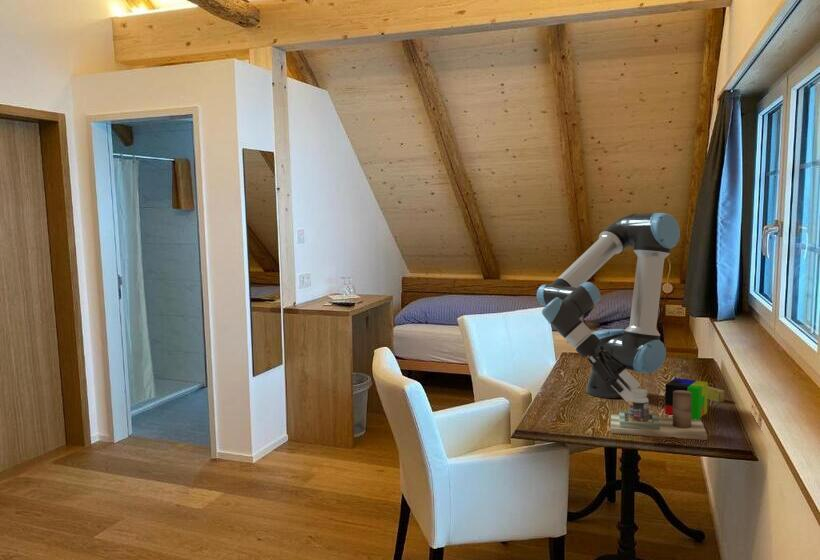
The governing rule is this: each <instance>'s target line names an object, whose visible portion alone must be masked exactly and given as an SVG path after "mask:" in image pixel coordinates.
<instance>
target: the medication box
mask: <svg viewBox="0 0 820 560" xmlns="http://www.w3.org/2000/svg"><path fill="white" fill-rule="evenodd" d="M707 400H709V401H710V400H711V401H715V402H718V403H722V402H725V390H723V389H719V388H716V387H712V386H708V396H707Z"/></svg>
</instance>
